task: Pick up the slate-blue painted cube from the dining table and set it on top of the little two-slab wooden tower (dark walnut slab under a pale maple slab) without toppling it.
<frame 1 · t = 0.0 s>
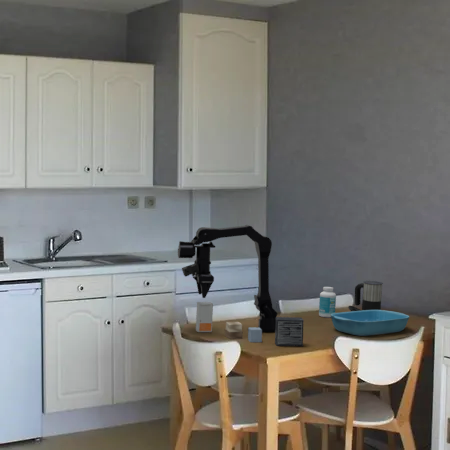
hand: (201, 296, 365), 15 cm above the table, tool pointing down, fingers open, 9 cm apart
tower base: (233, 337, 357), on the table, touching tower mid
skincare box: (203, 331, 367), on the table
small box: (288, 345, 347), on the table
milk frother: (364, 314, 421), on the table
blue cube: (254, 341, 352), on the table
pill bottle: (326, 316, 410), on the table
tower mid: (233, 330, 357), point 3 cm above the table, touching tower base
casserole dish: (369, 331, 381), on the table
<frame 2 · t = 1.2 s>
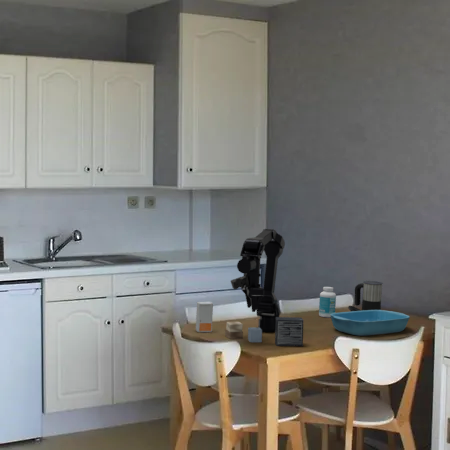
hand: (251, 309, 352), 12 cm above the table, tool pointing down, fingers open, 9 cm apart
nothing on the table moved.
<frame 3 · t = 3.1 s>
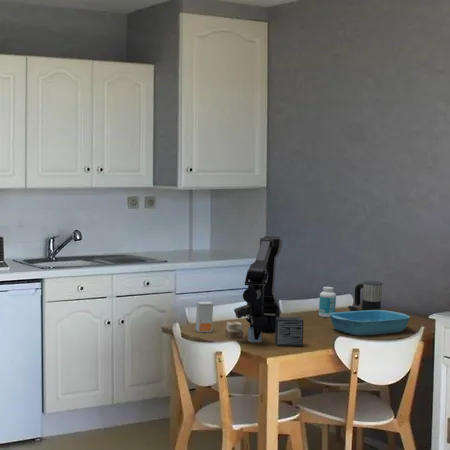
hand: (254, 338, 352), 1 cm above the table, tool pointing down, fingers closed on blue cube, 4 cm apart
tower base: (233, 338, 357), on the table
blue cube: (254, 340, 352), on the table, touching gripper
tower mid: (234, 330, 357), point 3 cm above the table
when the fingers open (8 cm above the table, at t = 6.3 s): blue cube drops 1 cm, resting on tower mid.
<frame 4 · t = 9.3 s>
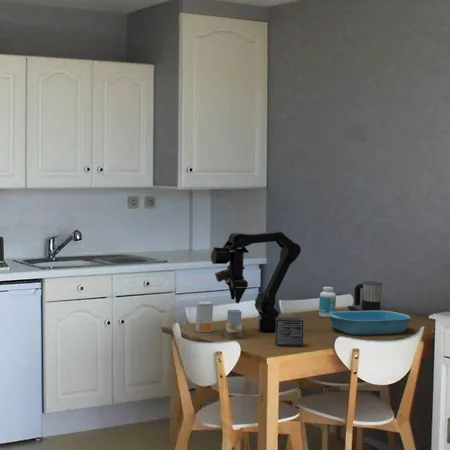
hand: (235, 301, 365), 13 cm above the table, tool pointing down, fingers open, 9 cm apart
blue cube: (234, 323, 357), point 6 cm above the table, touching tower mid
tower mid: (233, 330, 357), point 3 cm above the table, touching blue cube
at the end: blue cube 0.2 cm off-centre on the tower base, point 6.0 cm above the tower base's base; blue cube tilted 0°; tower mid moved 0.5 cm from its start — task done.
